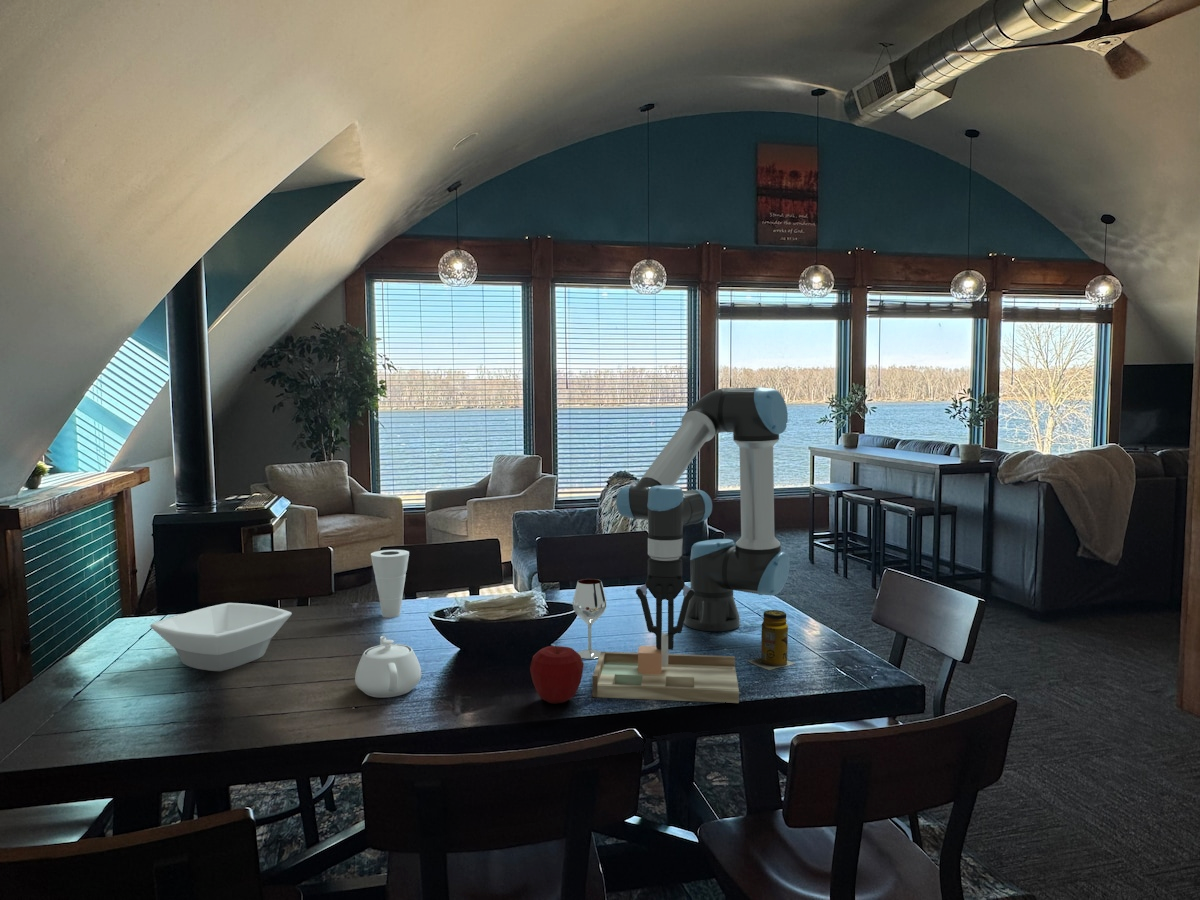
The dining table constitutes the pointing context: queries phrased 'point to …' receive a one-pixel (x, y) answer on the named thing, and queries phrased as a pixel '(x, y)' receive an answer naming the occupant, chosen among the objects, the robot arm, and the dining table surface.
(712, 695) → the tray
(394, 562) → the cup
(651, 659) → the block
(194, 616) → the bowl
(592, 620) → the wineglass
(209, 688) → the dining table surface
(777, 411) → the robot arm
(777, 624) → the condiment
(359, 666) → the teapot
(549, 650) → the apple
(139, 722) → the dining table surface
